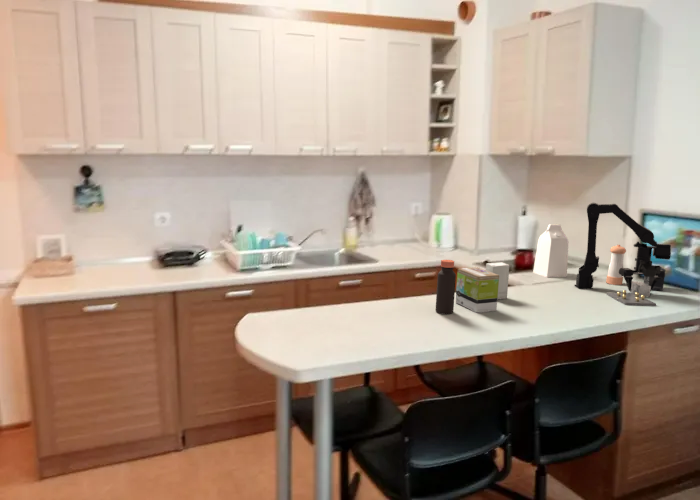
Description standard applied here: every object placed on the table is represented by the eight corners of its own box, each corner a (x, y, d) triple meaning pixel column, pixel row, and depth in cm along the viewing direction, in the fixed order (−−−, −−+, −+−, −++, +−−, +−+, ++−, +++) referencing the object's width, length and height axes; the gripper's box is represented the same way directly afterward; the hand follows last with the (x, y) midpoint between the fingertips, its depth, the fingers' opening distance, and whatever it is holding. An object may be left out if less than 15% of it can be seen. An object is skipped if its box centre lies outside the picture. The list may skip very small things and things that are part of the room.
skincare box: (499, 295, 257) (502, 261, 254) (507, 299, 251) (510, 264, 249) (482, 296, 254) (485, 262, 251) (490, 300, 248) (493, 265, 246)
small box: (663, 291, 277) (666, 269, 275) (648, 290, 278) (651, 268, 276) (656, 286, 287) (659, 265, 285) (642, 285, 289) (645, 264, 287)
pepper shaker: (606, 283, 288) (610, 245, 285) (605, 281, 295) (610, 243, 292) (622, 285, 286) (627, 246, 282) (622, 282, 292) (626, 244, 289)
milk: (552, 271, 313) (557, 222, 309) (566, 276, 303) (571, 225, 298) (533, 272, 310) (537, 223, 305) (546, 277, 299) (551, 226, 294)
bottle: (449, 315, 223) (452, 263, 219) (432, 312, 226) (435, 260, 223) (456, 311, 229) (459, 260, 225) (439, 308, 232) (442, 258, 229)
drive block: (638, 296, 265) (639, 285, 264) (629, 291, 274) (630, 281, 273) (649, 297, 265) (650, 286, 264) (640, 292, 274) (641, 281, 273)
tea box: (454, 303, 241) (456, 267, 239) (474, 301, 245) (477, 266, 243) (476, 313, 228) (478, 275, 225) (497, 311, 232) (500, 274, 229)
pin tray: (625, 304, 249) (625, 298, 248) (606, 294, 266) (607, 288, 266) (655, 305, 249) (656, 299, 248) (635, 295, 267) (635, 289, 266)
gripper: (631, 260, 259) (627, 294, 261) (674, 261, 259) (669, 296, 262) (620, 255, 270) (616, 288, 272) (660, 256, 270) (656, 290, 273)
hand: (639, 291), depth 269 cm, fingers open, 9 cm apart
